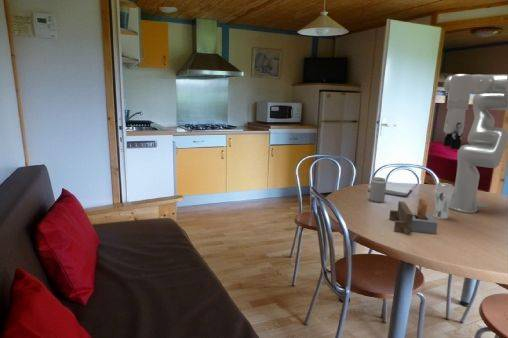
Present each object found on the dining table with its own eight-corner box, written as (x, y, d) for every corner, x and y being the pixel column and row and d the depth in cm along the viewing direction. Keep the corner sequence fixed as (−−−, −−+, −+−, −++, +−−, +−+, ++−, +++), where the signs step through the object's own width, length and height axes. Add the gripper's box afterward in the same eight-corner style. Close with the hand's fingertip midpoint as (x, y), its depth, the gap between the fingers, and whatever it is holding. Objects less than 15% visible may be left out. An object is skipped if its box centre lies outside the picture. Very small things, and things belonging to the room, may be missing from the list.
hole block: (429, 225, 144) (431, 214, 143) (435, 233, 135) (437, 222, 134) (404, 222, 146) (405, 212, 146) (408, 230, 137) (409, 219, 136)
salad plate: (407, 198, 185) (407, 192, 185) (366, 192, 196) (367, 186, 195) (412, 190, 203) (413, 185, 202) (375, 185, 214) (376, 179, 213)
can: (386, 203, 174) (389, 180, 172) (371, 202, 174) (373, 179, 172) (381, 199, 182) (383, 176, 179) (367, 198, 182) (369, 176, 179)
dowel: (423, 227, 142) (427, 198, 139) (424, 229, 139) (428, 201, 136) (414, 226, 142) (418, 198, 140) (416, 228, 139) (420, 200, 137)
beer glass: (447, 215, 158) (452, 183, 155) (450, 220, 151) (456, 187, 148) (431, 213, 160) (435, 182, 157) (433, 218, 154) (438, 185, 151)
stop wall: (402, 219, 150) (404, 201, 149) (410, 234, 133) (413, 214, 132) (388, 217, 152) (390, 200, 150) (395, 232, 134) (397, 212, 133)
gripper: (441, 105, 149) (435, 144, 152) (454, 105, 132) (447, 149, 136) (460, 105, 147) (454, 145, 151) (475, 106, 131) (468, 150, 134)
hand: (451, 147), depth 143 cm, fingers open, 9 cm apart
